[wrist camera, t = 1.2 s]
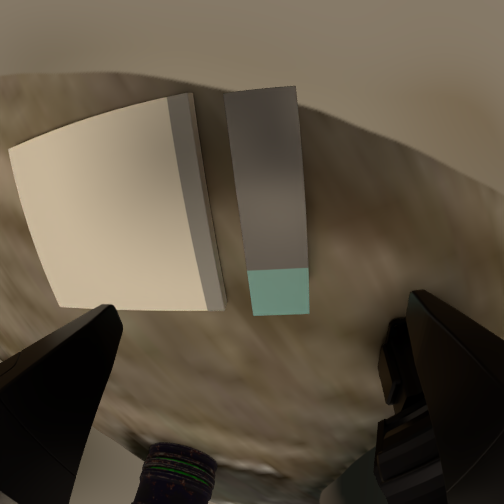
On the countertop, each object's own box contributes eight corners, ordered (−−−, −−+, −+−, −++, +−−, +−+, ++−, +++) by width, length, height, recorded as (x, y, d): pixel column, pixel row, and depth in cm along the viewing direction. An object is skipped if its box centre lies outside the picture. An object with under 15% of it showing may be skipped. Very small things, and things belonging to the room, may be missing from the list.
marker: (293, 89, 15) (295, 85, 12) (307, 279, 21) (309, 313, 18) (235, 94, 16) (223, 93, 13) (259, 282, 21) (253, 315, 18)
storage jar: (219, 476, 38) (202, 561, 25) (156, 464, 39) (132, 543, 26) (216, 450, 33) (194, 555, 20) (142, 435, 34) (108, 530, 21)
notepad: (192, 93, 16) (187, 92, 15) (227, 301, 22) (224, 310, 21) (16, 146, 18) (7, 149, 17) (65, 300, 24) (59, 307, 23)
